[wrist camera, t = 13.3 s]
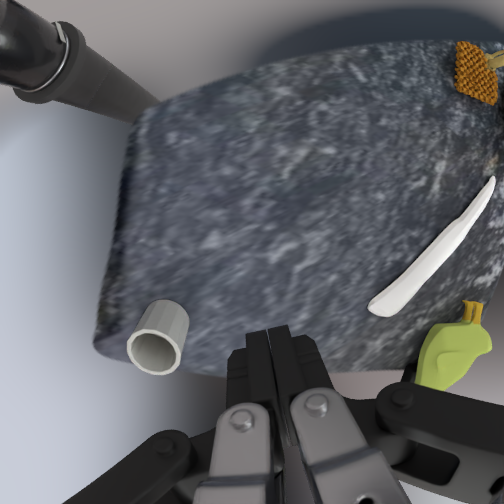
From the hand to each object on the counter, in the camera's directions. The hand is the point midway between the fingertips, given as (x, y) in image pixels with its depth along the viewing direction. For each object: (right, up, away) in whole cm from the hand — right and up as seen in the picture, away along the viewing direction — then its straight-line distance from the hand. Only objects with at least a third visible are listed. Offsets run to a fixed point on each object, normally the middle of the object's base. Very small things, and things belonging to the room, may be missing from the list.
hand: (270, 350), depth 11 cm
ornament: (+27, +25, +19) cm, 41 cm away
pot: (-12, -5, +27) cm, 30 cm away
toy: (+31, -3, +27) cm, 41 cm away
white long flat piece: (+26, +5, +26) cm, 37 cm away
